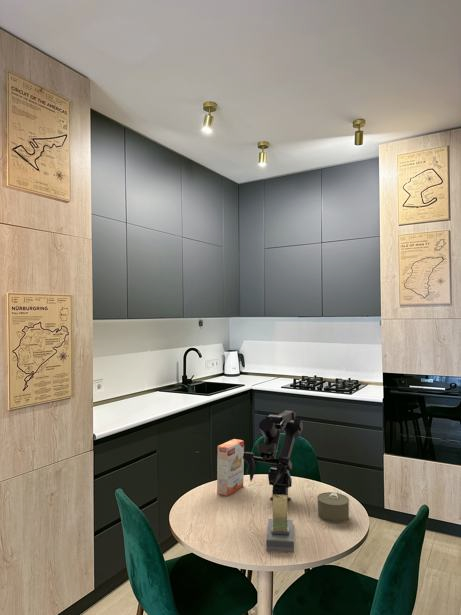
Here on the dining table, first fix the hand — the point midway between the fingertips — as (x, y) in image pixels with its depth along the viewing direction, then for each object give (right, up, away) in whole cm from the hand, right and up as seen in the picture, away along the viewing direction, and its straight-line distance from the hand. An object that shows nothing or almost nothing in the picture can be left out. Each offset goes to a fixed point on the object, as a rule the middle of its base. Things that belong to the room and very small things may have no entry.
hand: (262, 482), depth 165 cm
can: (+28, -15, +4) cm, 32 cm away
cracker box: (-12, -16, +30) cm, 36 cm away
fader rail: (+6, -14, -11) cm, 19 cm away
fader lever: (+6, -12, -11) cm, 18 cm away
